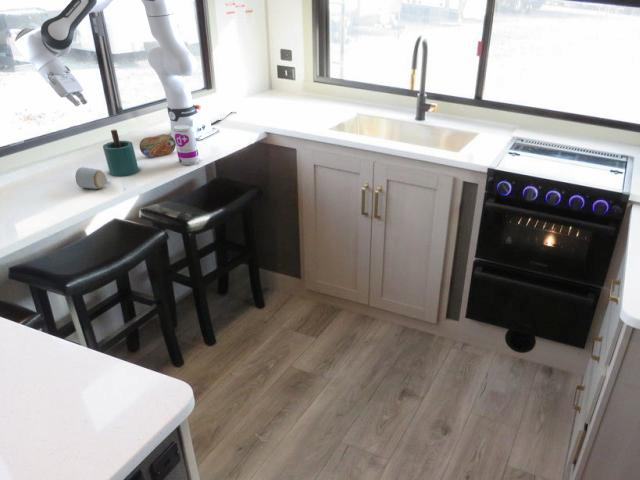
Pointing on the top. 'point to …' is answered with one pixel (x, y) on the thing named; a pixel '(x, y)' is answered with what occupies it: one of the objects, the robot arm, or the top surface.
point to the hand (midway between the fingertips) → (82, 104)
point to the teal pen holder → (121, 158)
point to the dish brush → (116, 139)
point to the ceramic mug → (90, 178)
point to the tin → (157, 145)
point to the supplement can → (186, 144)
